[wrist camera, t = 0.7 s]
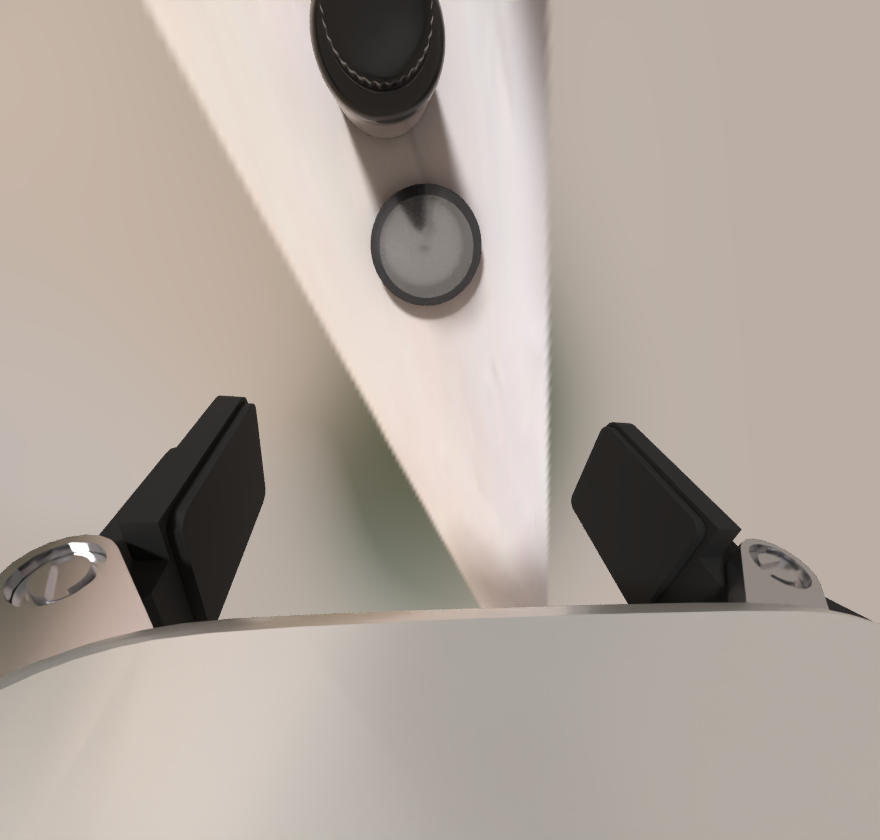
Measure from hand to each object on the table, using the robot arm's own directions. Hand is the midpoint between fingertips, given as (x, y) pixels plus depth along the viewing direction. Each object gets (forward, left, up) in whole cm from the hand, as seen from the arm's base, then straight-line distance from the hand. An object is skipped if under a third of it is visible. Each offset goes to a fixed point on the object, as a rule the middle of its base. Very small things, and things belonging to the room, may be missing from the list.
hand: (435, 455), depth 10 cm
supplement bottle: (-13, -3, -27) cm, 30 cm away
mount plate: (-3, +2, -26) cm, 26 cm away
